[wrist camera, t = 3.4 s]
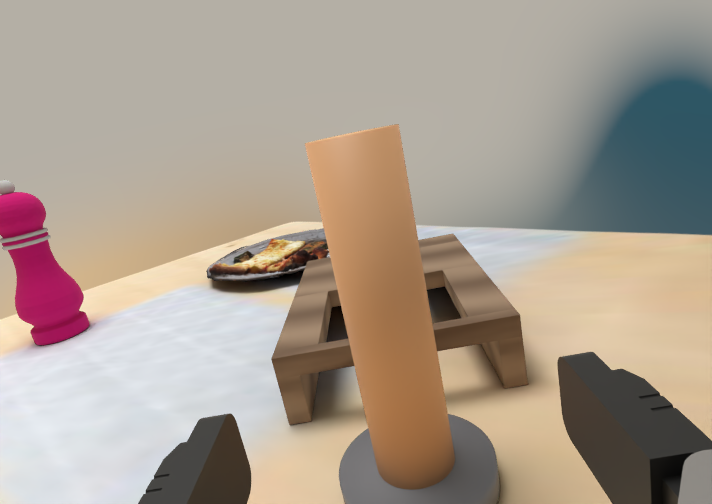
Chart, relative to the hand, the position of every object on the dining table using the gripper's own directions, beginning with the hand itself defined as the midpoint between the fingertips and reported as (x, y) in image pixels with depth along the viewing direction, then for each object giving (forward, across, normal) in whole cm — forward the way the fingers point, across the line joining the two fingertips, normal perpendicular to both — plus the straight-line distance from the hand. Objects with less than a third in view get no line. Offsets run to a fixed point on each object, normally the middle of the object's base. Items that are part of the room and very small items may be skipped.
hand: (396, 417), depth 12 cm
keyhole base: (+28, 0, +12) cm, 31 cm away
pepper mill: (+45, +42, +12) cm, 63 cm away
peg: (+10, 0, +12) cm, 16 cm away
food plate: (+60, +14, +12) cm, 63 cm away
